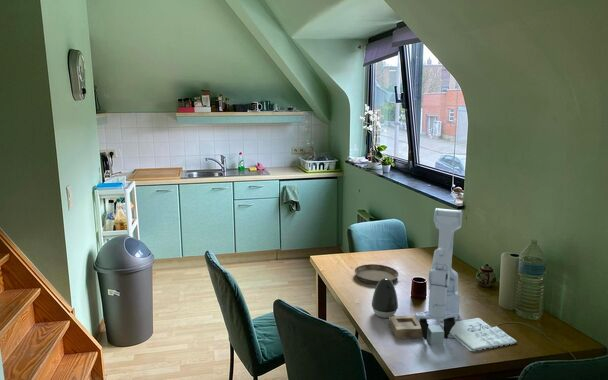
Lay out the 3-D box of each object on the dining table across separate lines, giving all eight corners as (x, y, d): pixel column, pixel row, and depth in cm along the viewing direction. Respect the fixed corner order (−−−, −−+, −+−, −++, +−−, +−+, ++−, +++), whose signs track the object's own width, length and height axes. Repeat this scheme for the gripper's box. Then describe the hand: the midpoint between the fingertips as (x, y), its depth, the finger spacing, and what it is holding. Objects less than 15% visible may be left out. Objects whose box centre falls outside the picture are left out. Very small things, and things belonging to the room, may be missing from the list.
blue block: (438, 338, 164) (439, 325, 163) (443, 344, 159) (444, 331, 158) (426, 338, 163) (427, 325, 162) (430, 345, 159) (431, 332, 158)
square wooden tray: (414, 323, 174) (415, 315, 173) (423, 337, 164) (424, 328, 163) (389, 324, 173) (389, 316, 172) (396, 338, 163) (396, 329, 162)
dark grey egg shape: (378, 322, 174) (379, 285, 171) (367, 310, 184) (368, 275, 181) (402, 319, 177) (404, 282, 174) (390, 307, 187) (391, 272, 184)
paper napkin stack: (470, 354, 155) (471, 348, 154) (437, 325, 174) (438, 320, 173) (517, 345, 160) (518, 339, 159) (480, 318, 179) (480, 313, 178)
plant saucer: (396, 270, 226) (396, 264, 226) (400, 288, 206) (400, 281, 206) (354, 269, 228) (354, 263, 228) (354, 286, 208) (354, 279, 208)
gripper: (420, 308, 154) (418, 344, 156) (462, 306, 155) (459, 342, 158) (414, 298, 161) (412, 334, 163) (454, 297, 162) (451, 332, 165)
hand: (435, 337), depth 161 cm, fingers open, 7 cm apart
